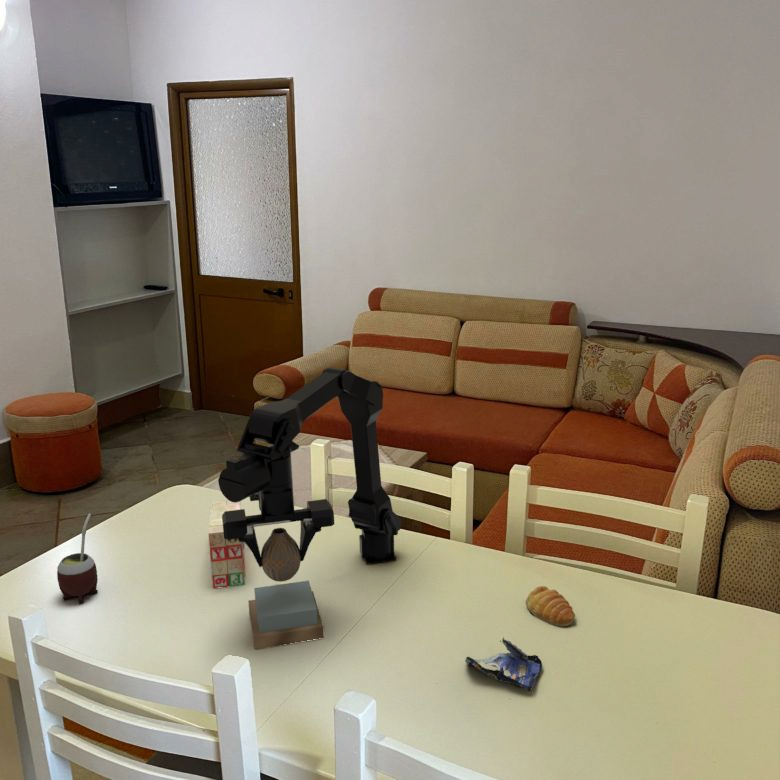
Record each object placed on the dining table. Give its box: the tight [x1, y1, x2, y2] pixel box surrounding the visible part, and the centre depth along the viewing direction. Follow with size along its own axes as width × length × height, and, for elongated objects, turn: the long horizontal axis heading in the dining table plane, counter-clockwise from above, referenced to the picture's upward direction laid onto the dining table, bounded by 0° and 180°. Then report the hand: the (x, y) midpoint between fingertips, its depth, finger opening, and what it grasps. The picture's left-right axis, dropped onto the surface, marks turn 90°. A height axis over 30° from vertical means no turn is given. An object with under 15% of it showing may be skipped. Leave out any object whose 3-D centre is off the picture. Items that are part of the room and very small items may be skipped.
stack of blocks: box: [207, 499, 246, 589], centre depth 158 cm, size 21×6×12 cm, turn 11°
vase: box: [260, 527, 302, 583], centre depth 133 cm, size 7×7×9 cm
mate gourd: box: [56, 513, 99, 606], centre depth 146 cm, size 8×8×15 cm
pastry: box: [525, 585, 576, 628], centre depth 138 cm, size 9×7×4 cm
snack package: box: [464, 636, 543, 692], centre depth 122 cm, size 12×6×12 cm
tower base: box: [248, 590, 325, 650], centre depth 137 cm, size 12×12×3 cm
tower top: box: [253, 580, 317, 633], centre depth 136 cm, size 10×10×3 cm
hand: (281, 562), depth 134 cm, fingers closed on vase, 7 cm apart
